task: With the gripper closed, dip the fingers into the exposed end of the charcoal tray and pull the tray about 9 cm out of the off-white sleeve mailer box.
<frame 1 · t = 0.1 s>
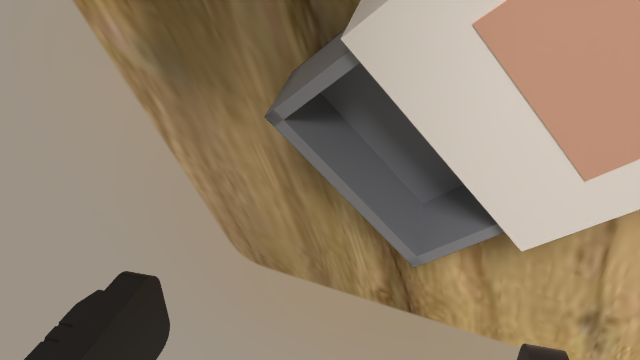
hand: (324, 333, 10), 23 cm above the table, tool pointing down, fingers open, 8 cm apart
tray: (474, 100, 27), point 4 cm above the table, slide at 0.0 cm
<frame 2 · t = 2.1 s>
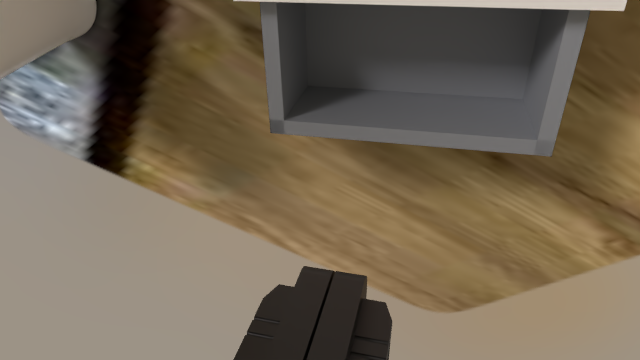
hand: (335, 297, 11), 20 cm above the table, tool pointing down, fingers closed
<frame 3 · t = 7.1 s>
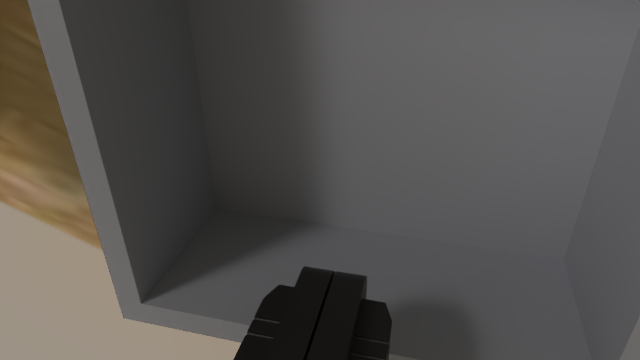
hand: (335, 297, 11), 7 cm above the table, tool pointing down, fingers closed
tray: (379, 8, 11), point 4 cm above the table, slide at 8.3 cm
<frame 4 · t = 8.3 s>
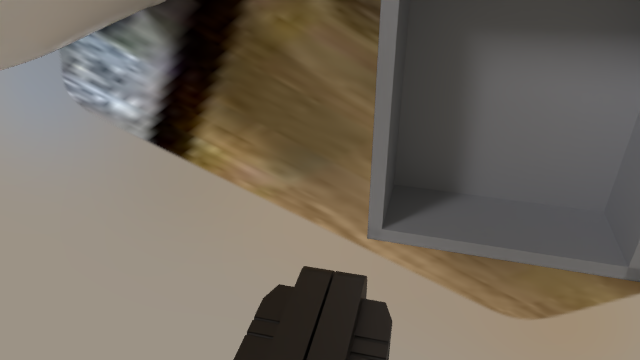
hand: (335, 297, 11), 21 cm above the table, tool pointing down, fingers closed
tray: (524, 82, 24), point 4 cm above the table, slide at 8.3 cm
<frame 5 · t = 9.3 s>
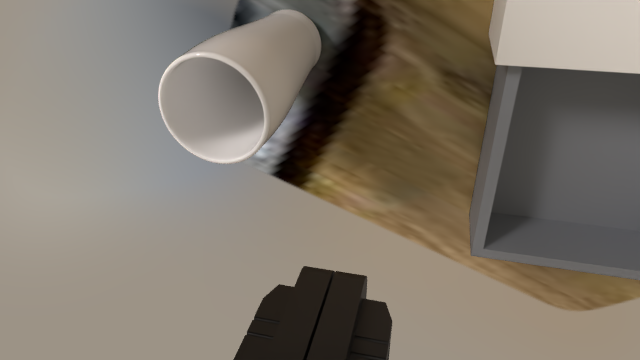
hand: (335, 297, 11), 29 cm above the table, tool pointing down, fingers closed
tray: (594, 144, 33), point 4 cm above the table, slide at 8.3 cm
white cup: (292, 41, 39), on the table
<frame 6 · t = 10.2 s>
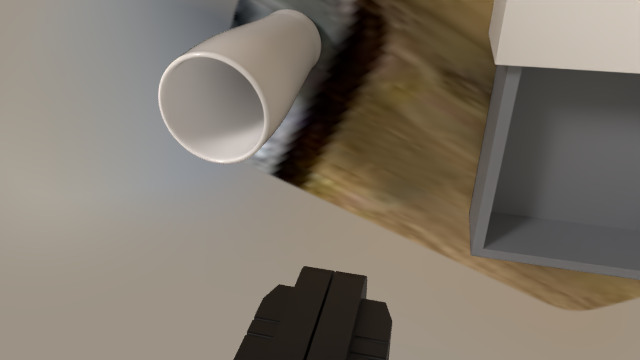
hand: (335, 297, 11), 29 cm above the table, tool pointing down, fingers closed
tray: (594, 144, 33), point 4 cm above the table, slide at 8.3 cm
white cup: (292, 41, 39), on the table
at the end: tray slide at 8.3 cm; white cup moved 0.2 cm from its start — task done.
